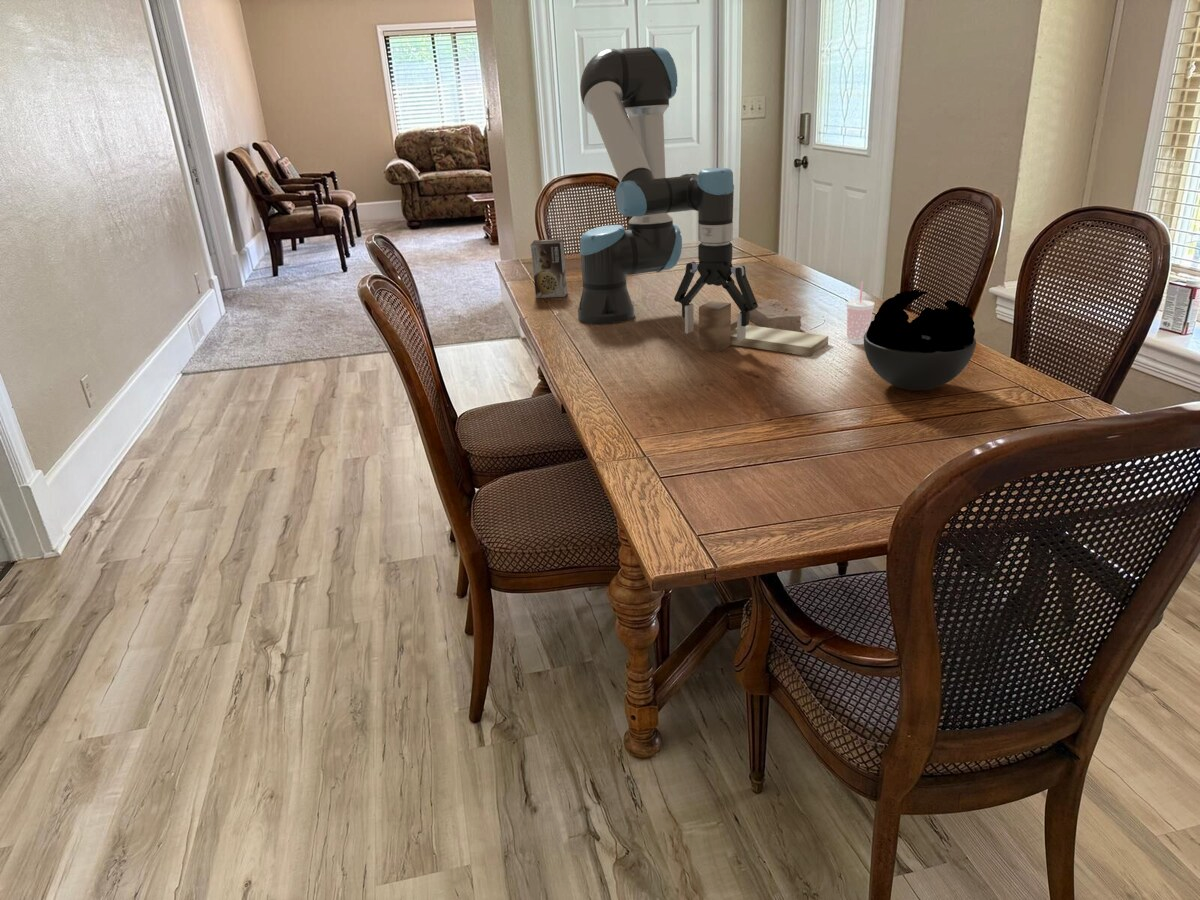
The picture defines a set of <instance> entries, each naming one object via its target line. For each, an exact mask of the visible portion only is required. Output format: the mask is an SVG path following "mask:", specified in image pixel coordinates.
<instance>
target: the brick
mask: <svg viewBox="0 0 1200 900" xmlns="http://www.w3.org/2000/svg"><path fill="white" fill-rule="evenodd" d="M756 302H757V304H758V307H757V308H756V309H754V310H752V311H750V312H749V322H751V323H753V324H754V325H755V326H758V327H766V328H773V329H781V330H788V331H796V332H801V327H802V323H801V319H802V316H801V315H800V314H798V313H797V312H795V311H794V310H791V309H789V308H788V307H787V306H786V305H784V304H783V303H782V302H781V301H780V300H778V299H773V298H772V299H763V300H758V301H756Z"/></svg>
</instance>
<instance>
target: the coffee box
mask: <svg viewBox="0 0 1200 900" xmlns="http://www.w3.org/2000/svg"><path fill="white" fill-rule="evenodd" d="M530 252H531V261H532V271H533V272H532V273H533V282H534V293H535V295H534V296H535V298H536V299H542V298H548V299H549V298H566V295H567V294H568V285H567V284H568V283H567V274H566V273H567V272H566V262H565V261H566V260H565V249H564V238H559V239H558V238H557V239H556V238H555V239H554V238H553V239H539V240H537V239H536V240H533V241H532V242H531V243H530Z"/></svg>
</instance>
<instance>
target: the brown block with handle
mask: <svg viewBox="0 0 1200 900" xmlns="http://www.w3.org/2000/svg"><path fill="white" fill-rule="evenodd" d="M731 317H732V303H731V302H724V301H715V300H711V301H709V302H706V303H704V304H702V305H700V306H698V350H702V351H706V352H707V351H708V352H714V353H719V352H721V351H723V350H725V349H727V348H729V346H731V344H730V339H731V330H733V329H735V328H737V319H732V318H731Z"/></svg>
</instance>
